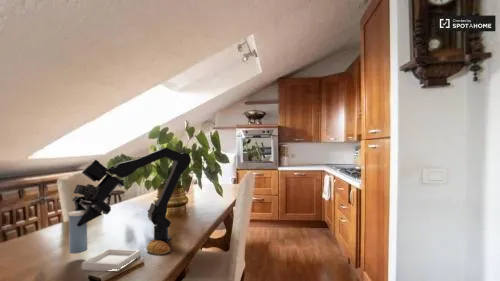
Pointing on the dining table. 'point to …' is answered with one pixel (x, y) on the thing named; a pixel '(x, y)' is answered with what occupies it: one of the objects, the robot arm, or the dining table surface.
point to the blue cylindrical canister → (77, 232)
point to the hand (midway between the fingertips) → (74, 224)
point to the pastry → (158, 247)
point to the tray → (110, 259)
